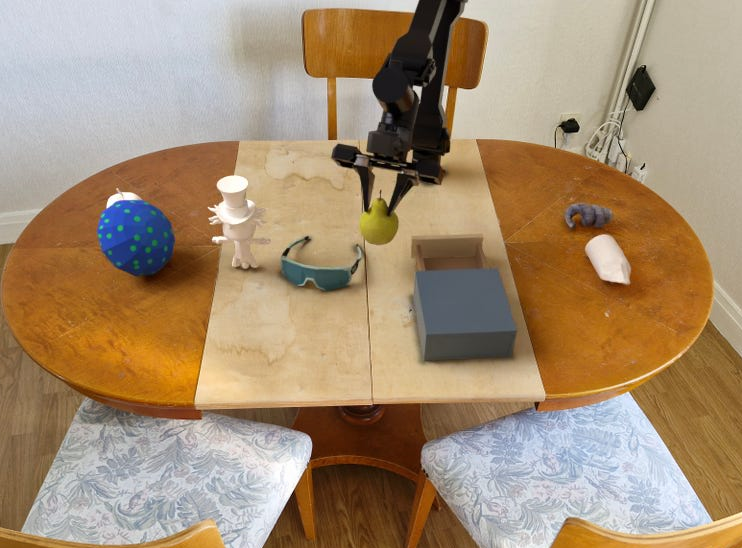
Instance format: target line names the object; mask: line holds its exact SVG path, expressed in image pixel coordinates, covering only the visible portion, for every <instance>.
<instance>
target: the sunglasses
mask: <svg viewBox="0 0 742 548" xmlns="http://www.w3.org/2000/svg"><path fill="white" fill-rule="evenodd" d="M309 237H310V236H309V235H307V236H305V237H301V238H298V239H297V240H294V241H293V242H291V243H290V244H288V245H287V247H286V248H285V250H284V251H283V252H282V254H281V255H280V267H281V271H282V275H284V276H285V278H286V279H287V280H289V282H291V283H292V284H293V285H295V286H297V287H302V286H303V287H304V286H307V284H308V282H309V281H311V282H313V285H314V286H315V287H316V288H317V289H320V290H322V291H325V292H327V291H332V290H338V289H341V288H344V287H346V286H348V285H349V284H350V282H351V281H352V278H353V275H354V274H355V273H356V271H357V270H358V268H359V263H360V261H362V250H361V248H360V246H359V244H358V243H356V250H357V252H358V258H356V261H355V263H354V264H353V265H352V266H347V265H346V266H345V265H344V266H334V267H333V266H331V267H329V266H328V267H327V266H316V265H315V266H314V265H306V264H303V263H301V262H298V261H295V260H292V259H290V258H288V255H289V254H290V251H291V250H292V248H294V247H295V246H296V245H298V244H300V243H304V242H305V241H308V240H309Z"/></svg>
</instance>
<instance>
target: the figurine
mask: <svg viewBox="0 0 742 548" xmlns="http://www.w3.org/2000/svg"><path fill="white" fill-rule="evenodd" d="M248 186H249V181H248V180H247V178H245V177H244V176H241V175H228V176H224V177H222V178H220V179H219V180H218V181H217V183H216V188H217V190H218V191H219V192H220V194H221V196H222V199H223V201H221V202H220V203H219V204H218V205H216V204H214V207H210V206H207V209H208V210H209V211H210V212H212V213H215V214H216V215H214V216H212V217H208V220H209V221H210V223H208V224H209V225H211V226H214V225H218V224H219V225H221V224H222V233H223V236H221V235H219V236H213V237H212V239H211V241H212V243H214V244H216V245H219V244H220V245H221V244H233V245H234V250H235V253H234V254H233V258H232V262H231V266H232V268H233V267H234V268H236V267H240V265H241V267H242V269H245V270H247V269H248V268H249V267H252V268H258V267H259V266H260V265H259V263H258V261H257V260H256V258H255V256H254V255H253V253H252V252H251V244H252V245H260V246H266V245H270V244H271V238H267V237H255V238H254V236H255V233H256V229H257V227H259V228H262V227H263V226H264V225H262V224H267V223H268V221H267V220H264V219H263V218H262V217H265V214H264V213H265V212H266V209H264V208H265V207H264V206H262V207H257V205H256V203H255V202H254V201H252V200H250V199H247V189H248ZM240 260H243V262H241V264H240ZM248 260H249V262H250V264H249V262H248Z"/></svg>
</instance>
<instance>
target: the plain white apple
mask: <svg viewBox="0 0 742 548" xmlns="http://www.w3.org/2000/svg"><path fill="white" fill-rule="evenodd" d="M115 190H116V192H117V193H115V194H113V195H111V196H110V197H109V198H108V200H107V203H106V209H107V208H108V207H109V206H111V205H112V204H113V203H115V202H116V201H120V200H143V199H142V197H140V196H139V195H138V194H136V193H135V192H129V191H128V192H127V191H126V192H125V191H124V192H123V191H122V192H121V190H120V189H119V188H118V187H117V188H115Z"/></svg>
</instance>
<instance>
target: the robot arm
mask: <svg viewBox="0 0 742 548" xmlns="http://www.w3.org/2000/svg"><path fill="white" fill-rule="evenodd" d="M468 3H469V0H418V1H417V5H416V7H415V9H414V13H413V16H412V19H411V21H410V24H409V27H408V30H407V32H406V33H404V34H403V35H402V36H400V37H398V38H397V39H396V41H395V43H394V45H393V48H392V50H391V51H390V52H388V54H387V56H386V57H385V59H384V62H383V63H382V66H381V68H380V69H379V71H378V72H377V73H376V74H375V75H374V77H373V78H372V84H371V89H372V93H373V95H374V96H375V99H376V100H377V102H378V104H379V106H380V107H381V108H382V114H381V118H380V121H379V122H378V124H377V127H376V130H371V131H368V134H367V143H366V149H365V152H366V153H369V154H366V153H363V152H362V151H361V150H360V149H359V148H358V146H355V145H351V144H350V145H349V144H343V143H337V144H335V146H334V147H333V148H332V152H331V156H330V159H331V160H332V161H333V162H334V163H335V164H336V165H337V166H338V167H341V168H345V169H350V170H353V171H355V173H356V174H357V176H358V177H359V180H360V186H361V191H362V192H361V193H362V203H363V212H366V213H367V212H368V209H369V208H370V207H371V202H372V196H373V190H374V185H375V179H376V174H375V173H374V172H373V170H374V168H376V169H380V170H386V171H390V172H391V171H392V172H397V174H396V180H395V184H394V185H395V186H394V189H393V191H392V195H391V198H390V201H389V204H388V206H387V207H388V212H387V216H388V217H391V215H392V214H393V212H395V211H396V209H397V208H398V206H399V205H400V203H401V201H402V200H403V199H404V197H406V195H407V194H408V193H409V192H410V191H411V189H412V188H413V187H419V186H420V185H419V184H420V182H422V183H424V184H426V185H435V186H442V184H443V179H444V175H445V174H446V170H445V169H444V168H443V167H442V165H441V161H442V157H445V155H446V154H449V153H450V152H451V134H450V130H449V128H448V127H447V123H448V117H447V114H446V112H445V109H444V106H443V98H444V91H445V85H446V77H447V71H448V63H449V57H450V51H451V44H452V38H453V37H452V36H453V32H454V31H453V30H454V26H455V24H457V21H458V20H459V19H460V17H461V16H462V15H463V14H464V11H465V7H466V4H468ZM414 87H419V88H421V90H420V91H421V92H420V97H419V94H418V93H417V92H416V90H415V89H414ZM411 151H412V155H411V157H412V158H411V161H410V162H409V161H408V160H407V158H408V154H409V152H411ZM419 181H420V182H419Z"/></svg>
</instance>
